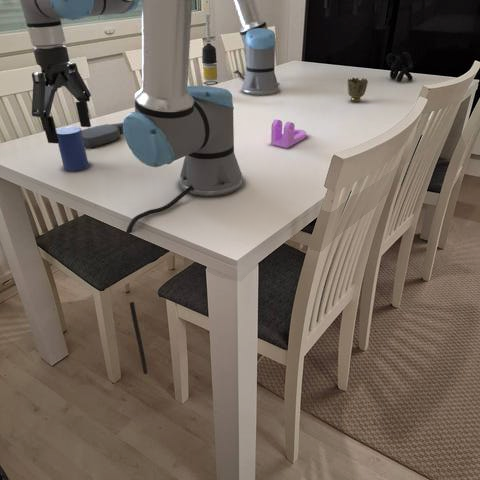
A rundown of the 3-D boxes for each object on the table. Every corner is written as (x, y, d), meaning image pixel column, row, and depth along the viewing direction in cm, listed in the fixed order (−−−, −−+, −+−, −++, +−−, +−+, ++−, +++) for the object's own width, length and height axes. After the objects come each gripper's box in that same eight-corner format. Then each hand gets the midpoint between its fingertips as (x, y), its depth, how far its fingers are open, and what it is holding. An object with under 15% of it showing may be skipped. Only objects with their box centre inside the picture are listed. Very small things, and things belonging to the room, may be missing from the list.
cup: (343, 102, 170) (345, 80, 166) (348, 97, 176) (350, 76, 172) (362, 104, 167) (365, 82, 163) (367, 99, 173) (370, 78, 169)
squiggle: (400, 92, 202) (376, 71, 205) (417, 76, 202) (392, 56, 205) (405, 81, 191) (380, 59, 194) (423, 64, 191) (397, 42, 194)
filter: (220, 99, 177) (217, 15, 161) (206, 100, 176) (202, 16, 160) (215, 96, 182) (212, 14, 166) (202, 97, 180) (197, 14, 164)
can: (84, 160, 125) (77, 124, 119) (91, 168, 120) (83, 131, 115) (61, 165, 122) (52, 129, 116) (67, 173, 117) (58, 135, 112)
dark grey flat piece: (70, 142, 137) (133, 123, 153) (90, 149, 131) (154, 129, 147) (68, 132, 136) (131, 115, 152) (89, 139, 130) (153, 120, 146)
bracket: (287, 148, 130) (288, 124, 126) (271, 144, 133) (271, 121, 129) (309, 135, 139) (310, 113, 135) (293, 132, 142) (294, 110, 138)
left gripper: (68, 38, 116) (86, 119, 127) (-3, 54, 96) (25, 149, 107) (93, 38, 114) (109, 121, 125) (25, 54, 94) (51, 151, 105)
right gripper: (324, -45, 168) (320, 18, 179) (379, -46, 176) (371, 14, 187) (314, -44, 174) (310, 16, 185) (367, -45, 182) (361, 13, 193)
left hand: (70, 134), depth 116 cm, fingers open, 13 cm apart
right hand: (341, 15), depth 186 cm, fingers open, 13 cm apart
